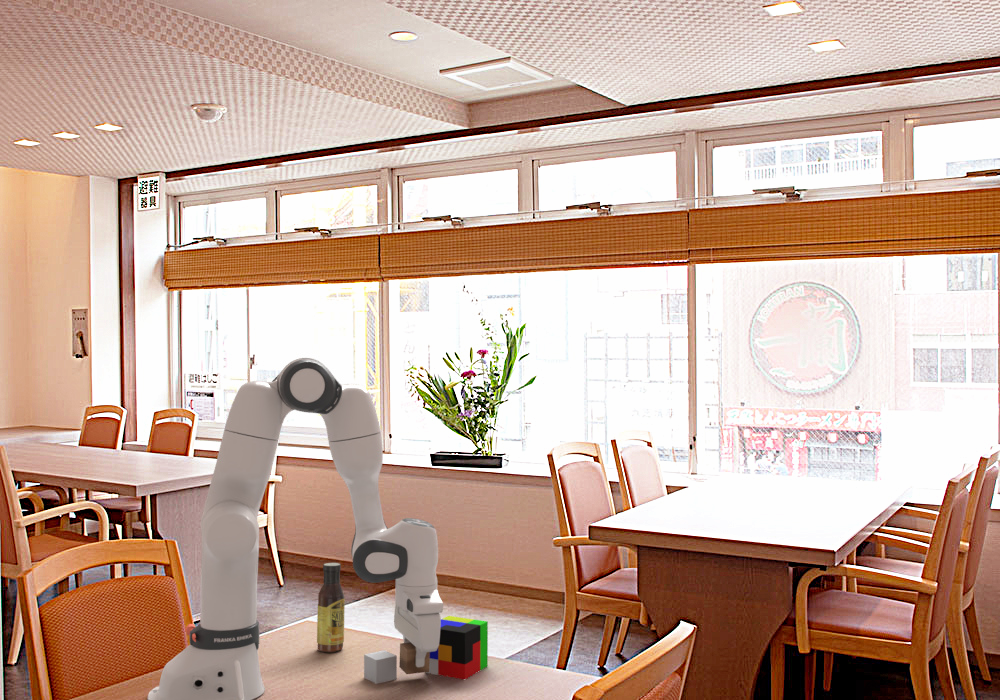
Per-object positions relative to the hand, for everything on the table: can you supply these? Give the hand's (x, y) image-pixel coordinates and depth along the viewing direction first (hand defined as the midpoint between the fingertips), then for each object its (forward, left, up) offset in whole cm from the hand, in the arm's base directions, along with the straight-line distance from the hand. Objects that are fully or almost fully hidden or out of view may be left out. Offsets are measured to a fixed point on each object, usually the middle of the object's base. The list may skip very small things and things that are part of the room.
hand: (414, 661), depth 201 cm
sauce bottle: (-11, +28, -4) cm, 31 cm away
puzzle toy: (+11, +3, -4) cm, 12 cm away
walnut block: (0, 0, -2) cm, 2 cm away
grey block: (-6, +4, -4) cm, 8 cm away
